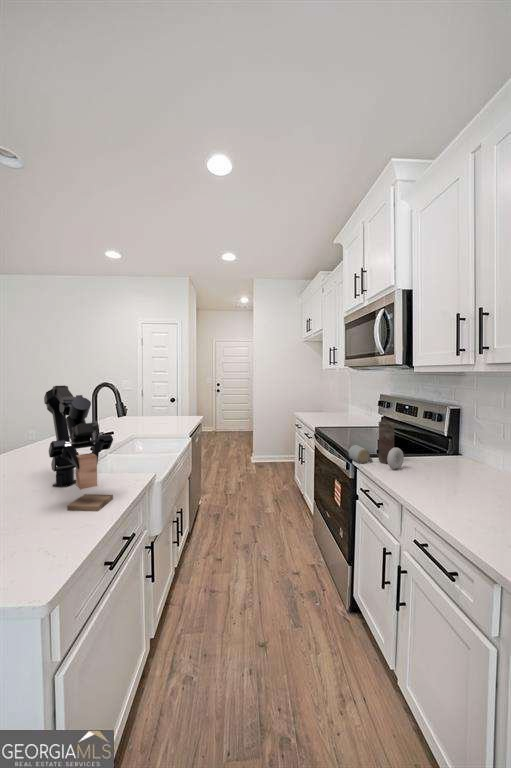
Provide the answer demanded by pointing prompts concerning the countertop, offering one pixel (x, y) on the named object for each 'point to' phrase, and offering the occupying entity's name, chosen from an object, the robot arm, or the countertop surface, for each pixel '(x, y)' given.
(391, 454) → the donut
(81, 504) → the base board
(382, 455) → the candle
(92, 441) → the robot arm
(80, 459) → the pillar
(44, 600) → the countertop surface
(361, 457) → the grey cylinder
